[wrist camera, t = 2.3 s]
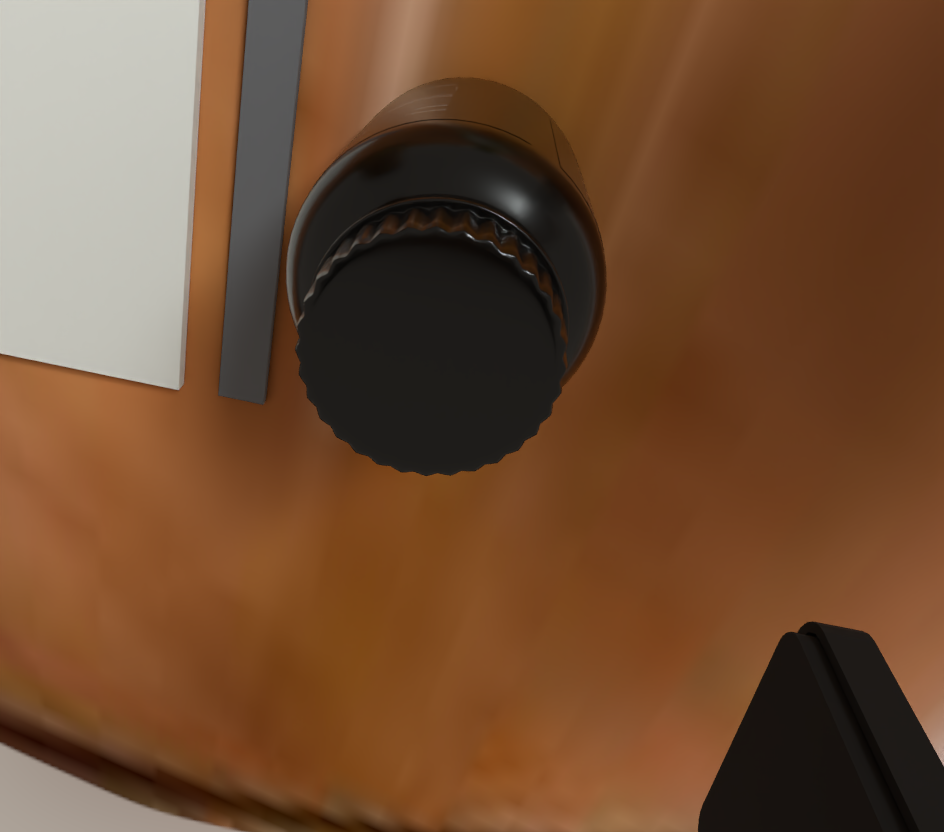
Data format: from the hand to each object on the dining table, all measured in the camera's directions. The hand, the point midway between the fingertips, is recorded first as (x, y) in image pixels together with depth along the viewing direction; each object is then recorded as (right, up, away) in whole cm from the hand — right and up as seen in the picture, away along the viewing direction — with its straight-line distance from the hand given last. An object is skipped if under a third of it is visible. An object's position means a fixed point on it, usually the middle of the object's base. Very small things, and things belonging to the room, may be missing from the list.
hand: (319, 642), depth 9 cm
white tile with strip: (-10, +11, +16) cm, 22 cm away
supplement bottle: (+1, +9, +17) cm, 19 cm away
